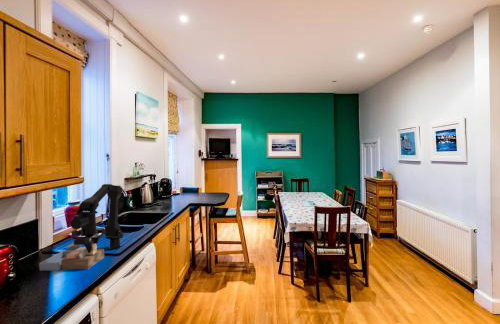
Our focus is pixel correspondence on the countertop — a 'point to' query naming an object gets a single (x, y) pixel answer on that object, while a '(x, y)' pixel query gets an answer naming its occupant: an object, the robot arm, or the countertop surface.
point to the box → (54, 262)
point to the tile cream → (80, 249)
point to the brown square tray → (83, 261)
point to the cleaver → (72, 247)
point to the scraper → (85, 252)
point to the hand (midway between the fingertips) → (91, 251)
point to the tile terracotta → (73, 255)
